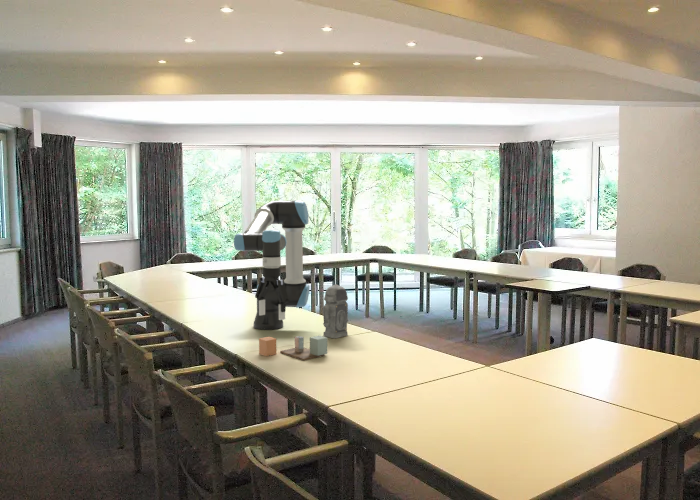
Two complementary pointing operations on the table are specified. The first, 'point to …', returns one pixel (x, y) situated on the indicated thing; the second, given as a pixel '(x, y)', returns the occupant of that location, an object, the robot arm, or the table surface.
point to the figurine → (335, 312)
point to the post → (299, 344)
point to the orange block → (267, 346)
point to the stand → (300, 354)
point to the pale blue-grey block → (318, 345)
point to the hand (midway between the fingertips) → (271, 317)
